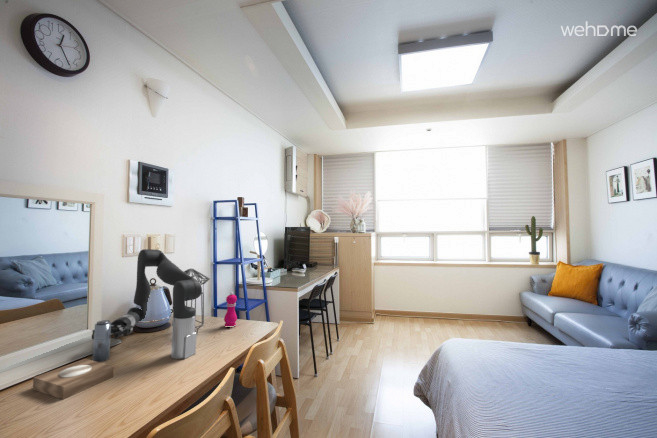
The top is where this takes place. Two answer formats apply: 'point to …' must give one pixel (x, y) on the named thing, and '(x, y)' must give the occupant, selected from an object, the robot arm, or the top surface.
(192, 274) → the geometric lantern
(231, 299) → the pepper mill
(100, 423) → the top surface
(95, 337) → the cylinder
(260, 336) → the top surface
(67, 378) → the stand
